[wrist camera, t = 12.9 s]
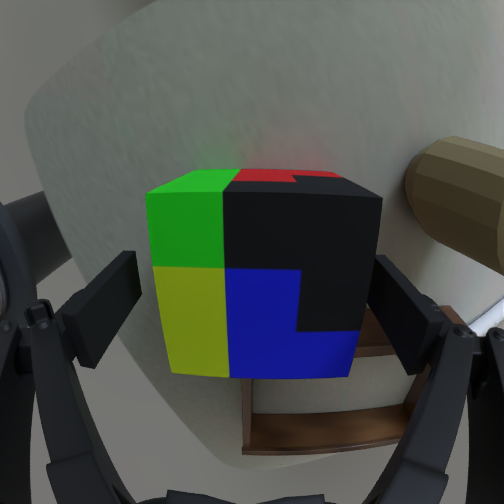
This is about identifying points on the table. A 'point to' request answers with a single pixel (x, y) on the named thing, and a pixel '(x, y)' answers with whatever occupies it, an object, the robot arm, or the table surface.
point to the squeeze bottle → (461, 197)
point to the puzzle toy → (262, 271)
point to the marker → (488, 319)
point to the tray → (336, 423)
